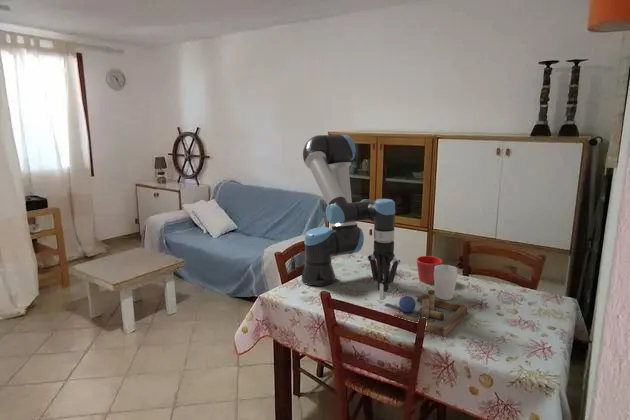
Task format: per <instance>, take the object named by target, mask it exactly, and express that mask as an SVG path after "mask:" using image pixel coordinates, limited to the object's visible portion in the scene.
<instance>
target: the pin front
mask: <svg viewBox="0 0 630 420" xmlns="http://www.w3.org/2000/svg"><path fill="white" fill-rule="evenodd" d="M418 313H419V315H422V306H420V308H419V309H418ZM429 317H430V318H433V319H436V320H441V321H443V320H444V318H445V313H444V312H440V311H436V310H434V311H433V310H429V316H428V318H429Z"/></svg>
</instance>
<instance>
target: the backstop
mask: <svg viewBox="0 0 630 420" xmlns="http://www.w3.org/2000/svg"><path fill="white" fill-rule="evenodd" d="M422 295H423V294H422V293H418V294H417V295H416V296H417V297H416V302H420V303H422ZM434 307H439V308H442V309H446V310H450V311H454V313H453V314H452V315H450V317H449V318H448V319H446V321H445V322H444V323H443V324H442V325H440V324H436V323H433V322H428V321H426V322H427V326H426V332H429V333H432V334H436V335H440V336H443V337H445V338H446V337H447V336H448V335H449V334H450V333H451V331H452V330H453V329H455V327H456V326H457V324H459V322H460V321H461V320H462V319H463V318H464V317H465V315H466V314H467V313H468V305H465V304H462V303H457V302H452V301H449V300H443V299H439V298H437V297H435V298H434ZM393 315H394V316H397V317H400V318H403V319H406V320H410V321H414V322H418V318H414V317H413V316H412V317H411V316H407V315H404V314H402V313H397V312H394V313H393ZM393 315H392V316H393ZM447 334H448V335H447Z"/></svg>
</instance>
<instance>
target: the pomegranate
mask: <svg viewBox="0 0 630 420" xmlns="http://www.w3.org/2000/svg"><path fill="white" fill-rule="evenodd" d="M375 260H376V259H375ZM391 264H392V263H390V266H389V270H391V268H392V265H391ZM376 265H377V260H376ZM377 270H378V266H377ZM383 274H384V267H383Z"/></svg>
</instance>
